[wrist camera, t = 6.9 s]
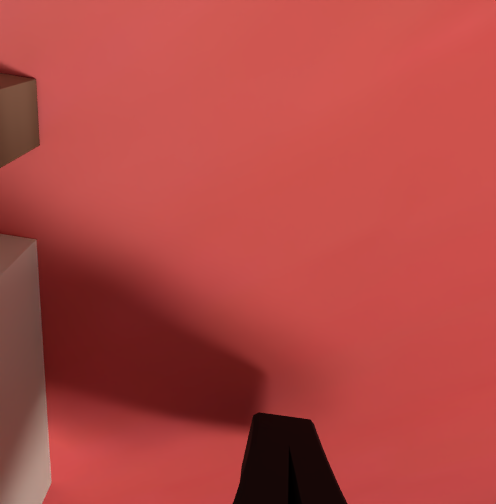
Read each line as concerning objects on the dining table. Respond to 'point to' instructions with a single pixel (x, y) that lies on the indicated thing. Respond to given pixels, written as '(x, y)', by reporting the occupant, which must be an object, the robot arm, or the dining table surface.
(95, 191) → the dining table surface
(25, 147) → the wooden u-shaped block
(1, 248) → the t block
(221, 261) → the dining table surface
